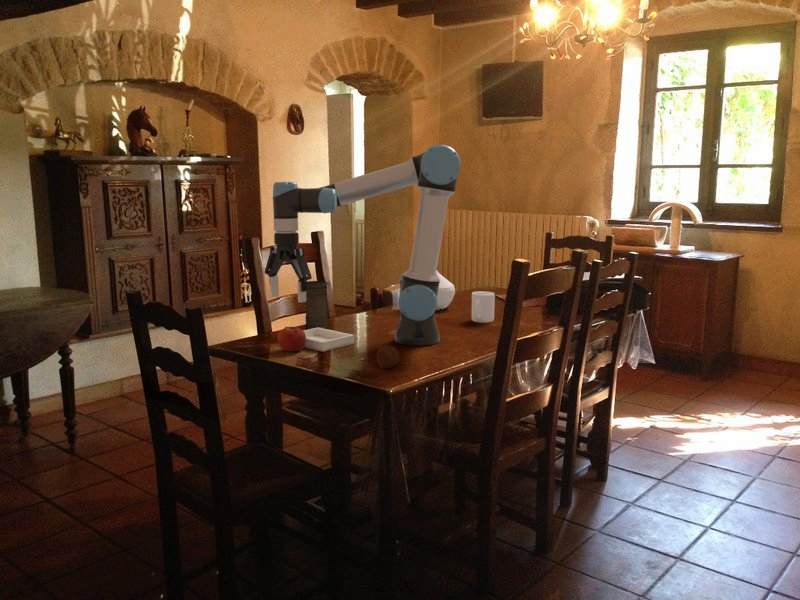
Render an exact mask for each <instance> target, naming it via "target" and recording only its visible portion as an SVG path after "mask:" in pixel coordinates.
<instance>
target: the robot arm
mask: <svg viewBox="0 0 800 600" xmlns="http://www.w3.org/2000/svg"><path fill="white" fill-rule="evenodd" d="M461 164H462V161H461V158H460V156H459V154H458V152H457V151H456V150H455V149H454V148H453V147H451V146H450V145H446V144H435V145H431V146H429V148H427V149H426V150H425V151H424V152H422V153H420V154H418V155H417V154H416V155H415V156H412V157H411V156H410V158H409V160H408V161H406V162H402V163H398V164H395V165H392V166H389V167H385V168H382V169H379V170H375V171H372V172H368V173H365V174H361V175H359V176H356V177H351V178H348V179H344V180H342V181H338V182H335V183H332V184H328V185H324V186H321V187H313V188H312V187H311V188H308V187H307V188H301V187H299V186H298V183H297V182H296V181H275V182H274V183H273V185H272V206H273V207H272V209H273V211H272V212H273V231H274V234H273V235H274V237H273V243H274V245H273V246H270V247H269V256H268V259H267V262H266V266H265V269H264V274H265V275H268V277H269V278H268V279H269V287H270V298H276V297H277V298H278V297H280V293H279V291H280V290H279V287H280V286H279V276H278V273H279V272H280V270H281V268H282V266H283V264H284V262H285V263H288V264H289V265H290V266H291V267H292V269H293V272H294V273H295V275H296V276H297V279H298V281H297V303H305V302H306V291H307V282H308V281H310V280H311V279H312V277H313V276H312V274H311V271H310V267H309V265H308V262H307V259H306V255H305V249H304V248H297V246H298V245H299V243H300V242H299V241H300V240H299V232H298V231H299V214H303V213H307V214H309V213H310V214H331V213H335V212H336V211H337V208H339V207H341V206H345V205H348V204H351V203H355V202H358V201H361V200H365V199H369V198H372V197H377V196H378V195H383V194H386V193H390V192H393V191H396V190H400V189H403V188H406V187H407V188H408V187H409V186H410V187H411V186H414V185H416V186H417V188H418V190H419V191H420V193H421V194H420V199H419V205H418V212H417V218H416V222H415V223H416V224H415V229H414V235H413V236H414V237H413V242H412V250H411V255H410V260H409V261H410V262H409V267H408V270H406V271H405V272H404V273H402V274H400V276H399V282H398V283H399V297H398V308H399V314H400V315H399V321H398V324H397V327H396V331H395V333H394V341H395V343H397V344H401V345H404V346H412V347H413V346H414V347H415V346H418V347H420V346H430V345H435V344H437V343H440V341H441V339H440V337H441V336H440V332H439V329H438V326H437V321H436V319H435V312H436V311H437V310H436V308H437V294H438V288H439V282H440V279H439V278H438V276H437V274H436V271H438V265H439V258H440V252H441V247H442V241H443V234H444V228H445V223H446V217H447V211H448V207H449V206H448V205H449V199H450V197H451V196H453V195H454V194H455V192H456V188H457V183H458V182H457V181H458V176H459V174H460V172H461V169H462V166H461Z"/></svg>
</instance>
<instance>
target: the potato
mask: <svg viewBox="0 0 800 600" xmlns="http://www.w3.org/2000/svg"><path fill="white" fill-rule="evenodd" d="M399 361H400V354H399V351H398V350H397V348H396V347H395V346H392V345H387V344H386V345H382V346H381V347H380V348H379V349H378V350H377V353H376V363H377V365H378V366H379V367H380V368H382V369H385V370H386V369H391V368H392V367H395V366H397V365H398V363H399Z"/></svg>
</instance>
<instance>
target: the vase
mask: <svg viewBox="0 0 800 600" xmlns="http://www.w3.org/2000/svg"><path fill="white" fill-rule="evenodd" d="M436 274H437V276H438V278H439V279H440V282H439V288H438V294H437V308H436V310H435V311H440V309H441V310H444V309H446V308H447V307H448V306H450V304H451V303H452V302H453V300H454V297H455V295H456V289H455V285H454V284H453V283H452V282H450V281H449V280H448V278H446V277H444V276H443V275H442V274H441V273H440V272H439V271H438V270H437V271H436Z"/></svg>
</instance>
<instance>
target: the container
mask: <svg viewBox="0 0 800 600" xmlns="http://www.w3.org/2000/svg"><path fill="white" fill-rule="evenodd" d="M328 285H329V283H328V281H325V280H324V281H323V280H307V291H306V302H304V303H305V318H304V319H305V324H304V327H305V328H304V330H308V329H313V328H317V327H319V328H323V329H328V330H331V328H329V326H330V324H329V316H328V292H327V291H328V287H327V286H328Z"/></svg>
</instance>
